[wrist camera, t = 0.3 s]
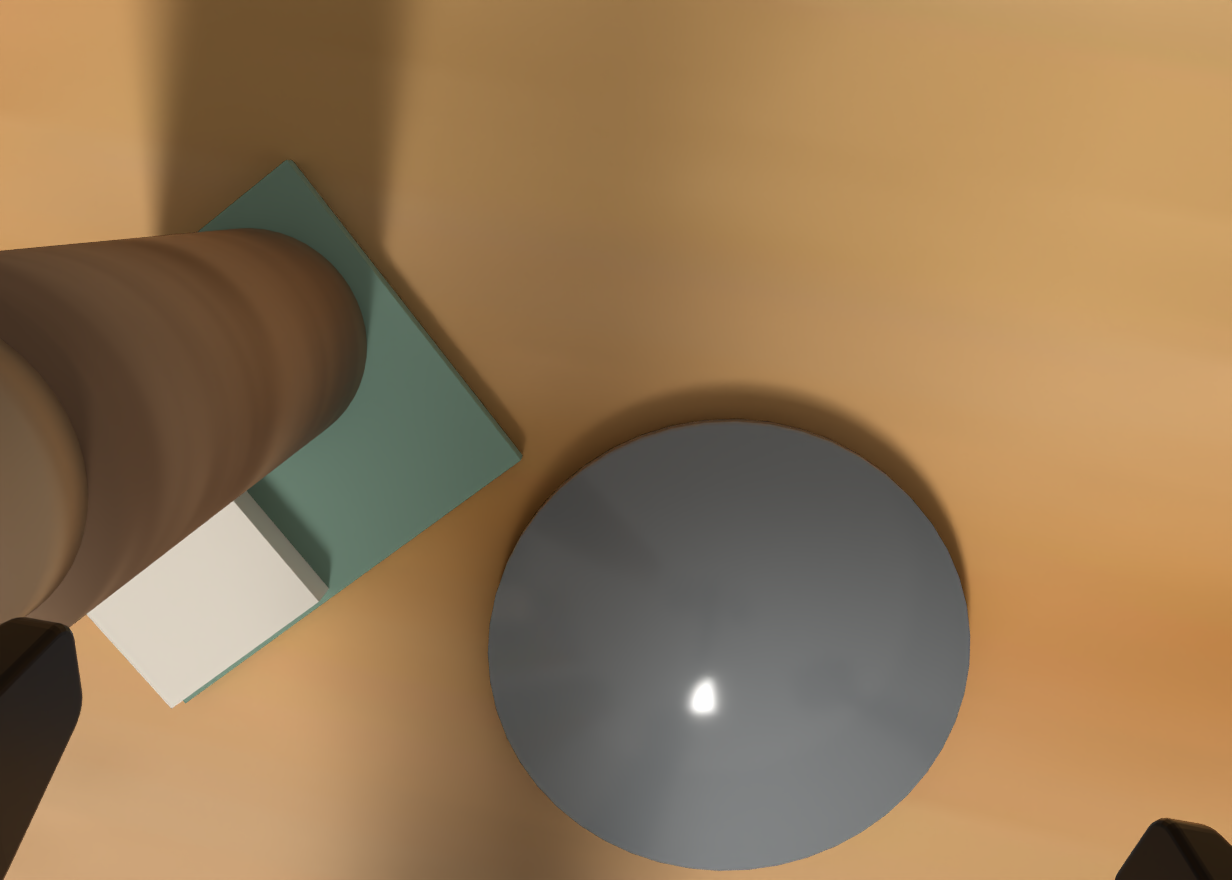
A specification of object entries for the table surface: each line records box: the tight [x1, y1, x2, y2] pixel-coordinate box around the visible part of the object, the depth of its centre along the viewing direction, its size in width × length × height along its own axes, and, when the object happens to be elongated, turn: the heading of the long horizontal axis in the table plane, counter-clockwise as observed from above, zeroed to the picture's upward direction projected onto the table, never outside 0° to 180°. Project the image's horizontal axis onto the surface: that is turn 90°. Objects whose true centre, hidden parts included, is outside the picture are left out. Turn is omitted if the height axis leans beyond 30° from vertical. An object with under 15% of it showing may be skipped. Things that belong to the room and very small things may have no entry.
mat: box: [87, 160, 523, 709], centre depth 23 cm, size 10×8×1 cm
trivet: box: [488, 419, 970, 871], centre depth 24 cm, size 11×11×1 cm
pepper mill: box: [0, 228, 367, 627], centre depth 17 cm, size 5×5×12 cm
